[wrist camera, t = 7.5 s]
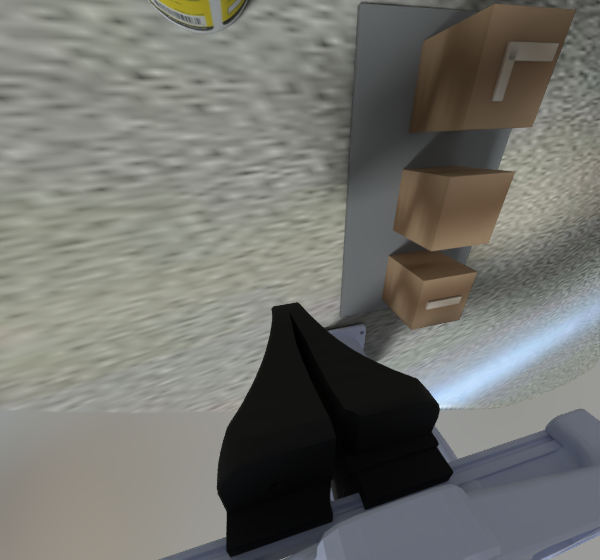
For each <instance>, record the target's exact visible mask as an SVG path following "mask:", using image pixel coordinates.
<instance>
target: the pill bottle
mask: <svg viewBox="0 0 600 560" xmlns="http://www.w3.org/2000/svg"><path fill="white" fill-rule="evenodd" d="M148 1H149V2H150V3H151V4H152V5H153V6H154V8H155V9H156V10H157V11H159V12H160V13H161V14H162V15H163V16H164V17H165V18H167V19H168V20H169V21H171V22H172V23H174V24H176V25H177V26H179V27H181V28H183V29H186V30H188V31H191V32H195V33H202V34H209V33H215V32H218V31H221V30H223V29H225V28H227V27H228V26H230V25H231V24H232V23H233V22H234V21H235V20H236V19H237V18H238V17H239V15H240V14H241V13H242V11H243V9H244V7H245V5H246V3H247V1H248V0H148Z"/></svg>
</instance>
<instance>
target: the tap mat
mask: <svg viewBox="0 0 600 560" xmlns="http://www.w3.org/2000/svg"><path fill="white" fill-rule="evenodd" d="M478 12H480V11H465V10H450V9H435V8H421V7H406V6H391V5H376V4H361V3H360V4H359V5H358V16H357V33H356V50H355V67H354V84H353V101H352V118H351V135H350V152H349V169H348V187H347V204H346V221H345V238H344V255H343V272H342V289H341V306H340V317H347V316H352V315H357V314H363V313H368V312H373V311H379V310H384V309H389V308H390V307H389V306H388V305H387V304H386V303H385V302H384V301H383V300H382V294H383V288H384V282H385V275H386V269H387V263H388V257H389V255H396V254H403V253H410V252H417V251H424V250H428V249H426V248H424V247H422V246H421V245H419V244H417V243H415V242H413V241H412V240H410V239H408V238H406V237H404V236H402V235H401V234H399V233H397V232H395V231H393V226H394V220H395V213H396V207H397V201H398V195H399V189H400V183H401V176H402V170H403V169H417V168H431V167H444V166H464V167H474V168H483V169H493V170H498V167H499V164H500V162H501V159H502V156H503V153H504V150H505V147H506V144H507V141H508V138H509V135H510V132H511V129H512V128H504V129H484V130H465V131H440V132H416V133H409V127H410V121H411V114H412V108H413V102H414V96H415V90H416V83H417V77H418V71H419V65H420V59H421V52H422V46H423V41H425V40H427V39H429V38H431V37H433V36H435V35H436V34H438V33H440V32H442V31H444V30H446V29H448V28H450V27H452V26H453V25H455V24H457V23H459V22H461V21H463V20H465V19H467V18H469V17H470V16H472V15H474V14H476V13H478ZM470 249H471V246H465V247H458V248H451V249H444V250H437V251H439V252H441V253H443V254H445V255H446V256H448V257H450V258H452V259H454V260H456V261H458V262H460V263H462V264H463V265H465V264H466V261H467V258H468V255H469V252H470Z"/></svg>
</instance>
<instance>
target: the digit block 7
mask: <svg viewBox="0 0 600 560" xmlns="http://www.w3.org/2000/svg"><path fill="white" fill-rule="evenodd" d="M575 12H576V10H572V9H559V8H545V7H532V6H519V5H506V4H493V5H491V6H489V7H487V8H485V9H484V10H482V11H480V12H478V13H476V14H474V15H472V16H470V17H469V18H467V19H465V20H463V21H461V22H459V23H457V24H455V25H453V26H452V27H450V28H448V29H446V30H444V31H442V32H440V33H438V34H436V35H435V36H433V37H431V38H429V39H427V40H425V41H423V46H422V52H421V59H420V65H419V71H418V77H417V83H416V90H415V96H414V102H413V108H412V114H411V121H410V127H409V133H416V132H440V131H465V130H484V129H504V128H523V127H532V126H533V123H534V121H535V118H536V115H537V113H538V110H539V107H540V105H541V102H542V99H543V97H544V94H545V91H546V89H547V86H548V83H549V81H550V78H551V75H552V73H553V70H554V67H555V65H556V62H557V60H558V57H559V54H560V52H561V49H562V46H563V44H564V41H565V38H566V36H567V33H568V30H569V28H570V25H571V22H572V20H573V17H574V14H575Z"/></svg>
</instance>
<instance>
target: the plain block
mask: <svg viewBox="0 0 600 560" xmlns="http://www.w3.org/2000/svg"><path fill="white" fill-rule="evenodd" d="M514 174H515V172H512V171H503V170H493V169H483V168H474V167H464V166H444V167H431V168H417V169H403V170H402V176H401V183H400V189H399V195H398V201H397V207H396V213H395V220H394V226H393V231H395V232H397V233H399V234H401V235H402V236H404V237H406V238H408V239H410V240H412V241H413V242H415V243H417V244H419V245H421V246H422V247H424V248H426V249H428V250H430V251H437V250H444V249H451V248H458V247H465V246H472V245H478V244H485V243H489V240H490V237H491V235H492V232H493V229H494V227H495V224H496V221H497V219H498V216H499V213H500V211H501V208H502V205H503V203H504V200H505V197H506V195H507V192H508V189H509V187H510V184H511V182H512V179H513V176H514Z"/></svg>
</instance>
